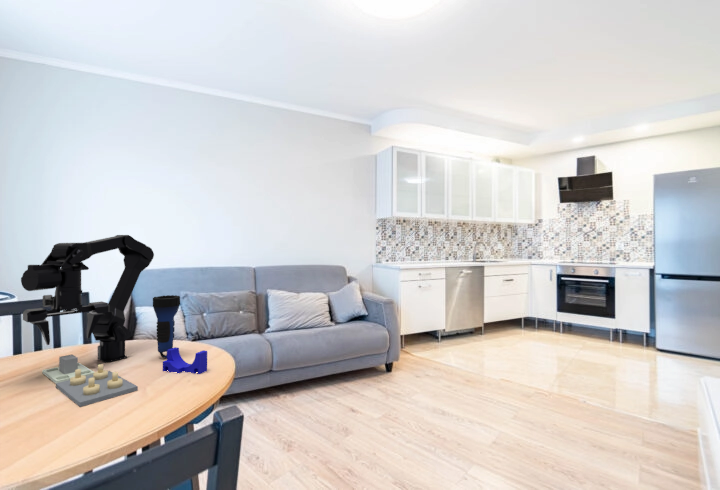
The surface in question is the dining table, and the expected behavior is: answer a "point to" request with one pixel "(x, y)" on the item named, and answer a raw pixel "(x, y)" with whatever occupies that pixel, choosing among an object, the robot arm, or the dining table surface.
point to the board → (67, 376)
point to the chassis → (95, 386)
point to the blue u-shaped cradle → (179, 365)
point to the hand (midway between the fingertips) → (68, 341)
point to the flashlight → (165, 320)
